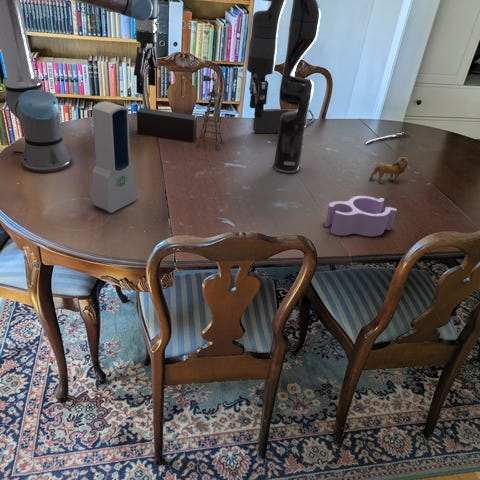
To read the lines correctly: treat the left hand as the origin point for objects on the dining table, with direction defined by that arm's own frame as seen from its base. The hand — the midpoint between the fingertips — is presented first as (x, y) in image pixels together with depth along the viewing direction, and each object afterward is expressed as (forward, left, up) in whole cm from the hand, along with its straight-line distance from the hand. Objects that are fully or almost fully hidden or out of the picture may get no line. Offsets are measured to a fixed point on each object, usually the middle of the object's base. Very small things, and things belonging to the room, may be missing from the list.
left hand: (146, 89), depth 183 cm
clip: (+82, -53, -18) cm, 99 cm away
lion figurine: (+96, -15, -18) cm, 99 cm away
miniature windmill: (+27, -3, -18) cm, 33 cm away
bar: (+8, 0, -18) cm, 20 cm away
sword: (+103, +32, -18) cm, 109 cm away
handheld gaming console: (+53, +22, -18) cm, 60 cm away
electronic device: (+8, -60, -18) cm, 63 cm away
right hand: (+46, -46, +11) cm, 66 cm away
